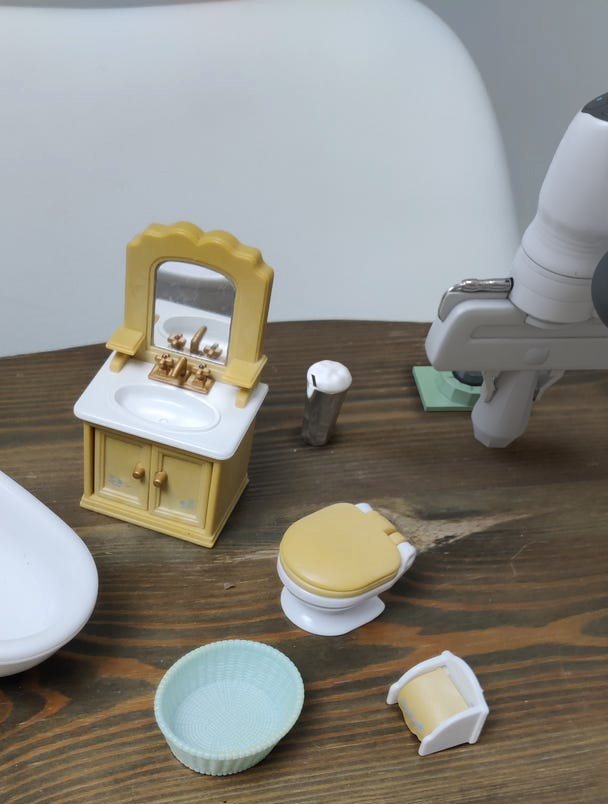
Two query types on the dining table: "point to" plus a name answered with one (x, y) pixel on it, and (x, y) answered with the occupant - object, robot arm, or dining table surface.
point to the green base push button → (444, 390)
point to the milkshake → (324, 400)
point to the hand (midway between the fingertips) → (508, 397)
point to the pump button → (469, 377)
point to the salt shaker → (508, 403)
